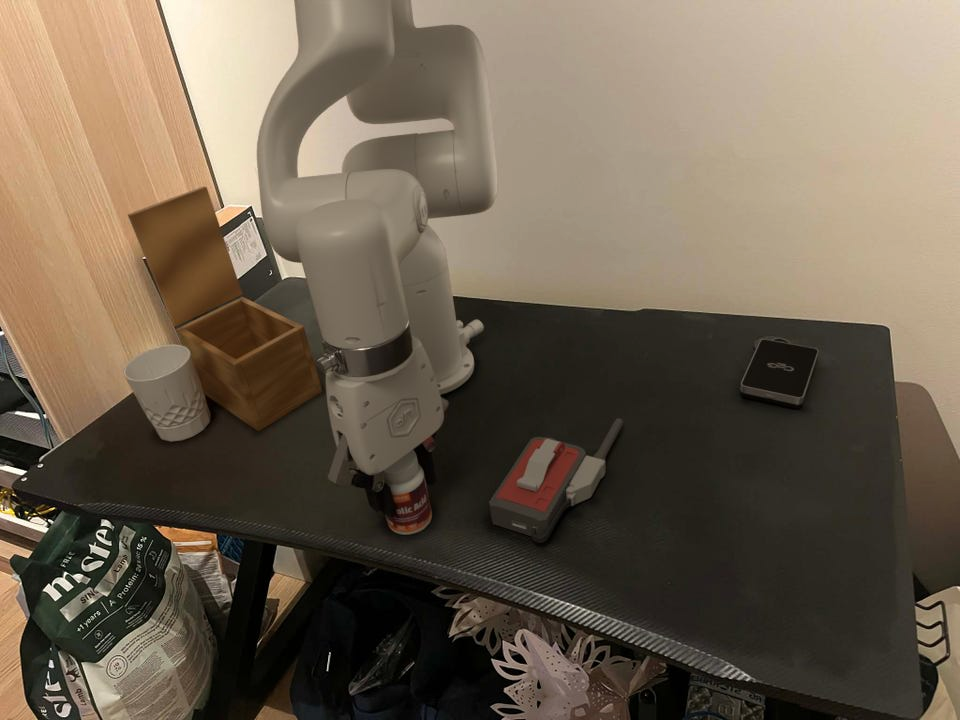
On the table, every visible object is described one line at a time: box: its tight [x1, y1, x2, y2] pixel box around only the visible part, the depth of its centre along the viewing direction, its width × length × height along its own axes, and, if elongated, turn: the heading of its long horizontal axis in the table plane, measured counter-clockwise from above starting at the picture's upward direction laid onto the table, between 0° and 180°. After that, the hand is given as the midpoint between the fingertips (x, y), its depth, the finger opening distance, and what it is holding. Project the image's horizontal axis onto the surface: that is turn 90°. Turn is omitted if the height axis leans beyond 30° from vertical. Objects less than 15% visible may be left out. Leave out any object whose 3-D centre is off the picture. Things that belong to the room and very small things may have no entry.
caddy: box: [175, 296, 323, 432], centre depth 94 cm, size 15×10×10 cm
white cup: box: [123, 343, 212, 443], centre depth 90 cm, size 8×8×10 cm
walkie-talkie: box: [488, 418, 624, 544], centre depth 75 cm, size 9×4×20 cm
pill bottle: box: [384, 450, 433, 536], centre depth 72 cm, size 5×5×8 cm
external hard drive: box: [739, 338, 820, 409], centre depth 86 cm, size 7×11×2 cm, turn 150°
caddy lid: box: [127, 186, 243, 327], centre depth 92 cm, size 15×10×6 cm
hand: (404, 492), depth 72 cm, fingers closed on pill bottle, 4 cm apart
